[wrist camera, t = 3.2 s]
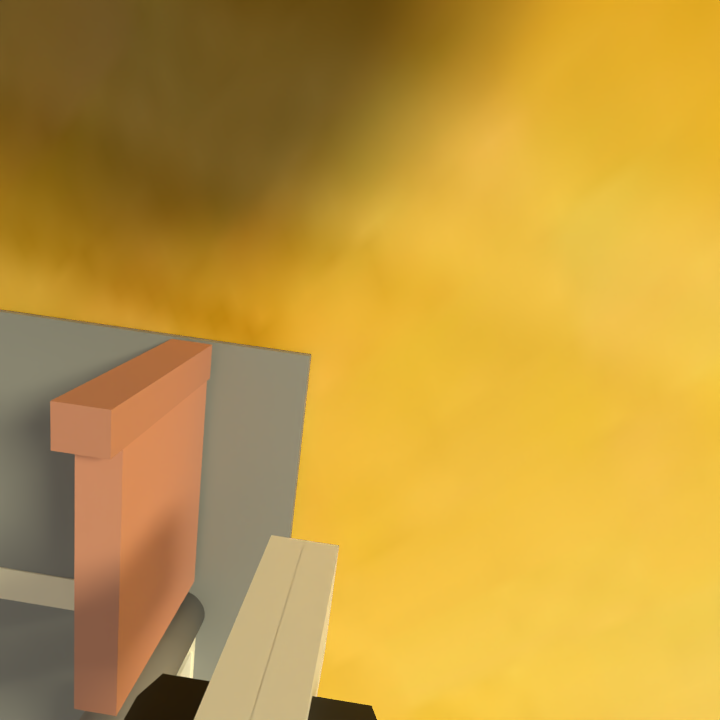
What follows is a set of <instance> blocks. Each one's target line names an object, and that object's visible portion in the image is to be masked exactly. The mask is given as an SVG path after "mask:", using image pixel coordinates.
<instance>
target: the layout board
mask: <svg viewBox="0 0 720 720" xmlns="http://www.w3.org/2000/svg"><path fill="white" fill-rule="evenodd" d="M170 339H177V340H184V341H191V342H198V343H205V344H212V356H211V371H210V379H209V380H207V389H206V405H205V420H204V436H203V452H202V468H201V483H200V499H199V515H198V531H197V547H196V562H195V578H194V583H193V585H192V586H191V588H190V590H189V591H188V592H189V593H191V594H193V595H194V596H195V597H197V598H198V599H199V601H200V602H201V604H202V605H203V608H204V612H205V617H204V621H203V623H202V625H201V627H200V629H199V631H198V633H197V635H196V637H195V639H194V641H193V643H192V645H191V647H190V649H189V651H192V656H191V672H190V678H194V679H200V680H206V681H210V680H211V678H212V675H213V673H214V670H215V668H216V666H217V663H218V661H219V658H220V656H221V654H222V651H223V649H224V647H225V644H226V642H227V639H228V637H229V635H230V632H231V630H232V628H233V625H234V623H235V620H236V618H237V616H238V613H239V611H240V608H241V606H242V604H243V601H244V599H245V597H246V594H247V592H248V589H249V587H250V585H251V582H252V580H253V578H254V575H255V573H256V570H257V568H258V566H259V563H260V561H261V558H262V556H263V554H264V551H265V549H266V547H267V544H268V542H269V539H270V537H271V535H274V536H280V537H287V538H291V533H292V524H293V515H294V506H295V497H296V488H297V479H298V470H299V461H300V451H301V442H302V433H303V424H304V415H305V406H306V397H307V388H308V379H309V370H310V361H311V354H306V353H299V352H292V351H285V350H278V349H271V348H264V347H257V346H250V345H243V344H236V343H229V342H222V341H215V340H208V339H201V338H194V337H187V336H180V335H173V334H166V333H159V332H152V331H145V330H138V329H132V328H125V327H118V326H111V325H104V324H97V323H90V322H83V321H76V320H69V319H62V318H55V317H48V316H41V315H34V314H27V313H20V312H13V311H6V310H0V720H79V719H80V718H81V716H82V714H83V713H84V710H78V709H74V557H75V454H70V453H64V452H57V451H51V427H50V401H51V400H53V399H55V398H57V397H59V396H61V395H63V394H65V393H67V392H69V391H71V390H73V389H74V388H76V387H78V386H80V385H82V384H84V383H86V382H88V381H90V380H92V379H94V378H96V377H98V376H100V375H102V374H104V373H106V372H108V371H110V370H112V369H114V368H116V367H118V366H120V365H121V364H123V363H125V362H127V361H129V360H131V359H133V358H135V357H137V356H139V355H141V354H143V353H145V352H147V351H149V350H151V349H153V348H155V347H157V346H159V345H161V344H163V343H165V342H166V341H168V340H170Z"/></svg>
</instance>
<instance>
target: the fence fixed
mask: <svg viewBox="0 0 720 720" xmlns="http://www.w3.org/2000/svg"><path fill="white" fill-rule="evenodd" d="M204 617H205V612H204V608H203V605H202V604H201V602H200V601H199V599H198V598H197V597H195V596H194V595H193V594H191V593H189V592H188V593H187V595H186V597H185V598H184V600H183V602H182V604H181V605H180V607H179V609H178V610H177V612H176V614H175V616H174V617H173V619H172V621H171V623H170V624H169V626H168V628H167V629H166V631H165V633H164V635H163V636H162V638H161V640H160V641H159V643H158V645H157V647H156V648H155V650H154V652H153V654H152V655H151V657H150V659H149V660H148V662H147V664H146V666H145V667H144V669H143V671H142V673H141V674H140V676H139V678H138V679H137V681H136V683H135V685H134V686H133V688H132V690H131V691H130V693H129V695H128V697H127V698H126V700H125V702H124V704H123V705H122V707H121V709H120V710H119V712H118V714H117V716H112V715H107V714H101V713H95V712H89V711H84V713H83V714H82V716H81V718H80V719H79V720H124V718H125V716H126V715H127V713H128V711H129V709H130V707H131V706H132V704H133V702H134V700H135V699H136V697H137V696H138V695H139V694H140V693H141V692H142V691H143V690H145V689H146V688H147V687H148V686H149V685H150V684H151V683H153V682H154V681H155V680H156V679H157V678H158V677H159V676H160V675H162V674H169V675H176V676H182V677H188V678H190V672H191V656H192V651H189V649H190V647H191V645H192V643H193V641H194V639H195V637H196V635H197V633H198V631H199V629H200V627H201V625H202V623H203V621H204Z"/></svg>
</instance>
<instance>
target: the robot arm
mask: <svg viewBox="0 0 720 720" xmlns="http://www.w3.org/2000/svg"><path fill="white" fill-rule="evenodd" d="M338 550H339V546H338V545H332V544H326V543H319V542H313V541H306V540H300V539H293V538H287V537H280V536H274V535H271V537H270V539H269V542H268V544H267V547H266V549H265V551H264V554H263V556H262V558H261V561H260V563H259V566H258V568H257V570H256V573H255V575H254V578H253V580H252V582H251V585H250V587H249V589H248V592H247V594H246V597H245V599H244V601H243V604H242V606H241V608H240V611H239V613H238V616H237V618H236V620H235V623H234V625H233V628H232V630H231V632H230V635H229V637H228V639H227V642H226V644H225V647H224V649H223V651H222V654H221V656H220V658H219V661H218V663H217V666H216V668H215V670H214V673H213V675H212V678H211V680H210V681H206V680H200V679H194V678H188V677H182V676H176V675H169V674H162V675H160V676H159V677H158V678H157V679H156V680H155V681H154V682H153V683H151V684H150V685H149V686H148V687H147V688H146V689H145V690H143V691H142V692H141V693H140V694H139V695H138V696H137V697H136V699H135V700H134V702H133V704H132V706H131V707H130V709H129V711H128V713H127V715H126V716H125V718H124V720H377V719H376V716H375V714H374V711H373V709H372V706H369V705H363V704H357V703H351V702H345V701H339V700H333V699H327V698H321V697H317V692H318V687H319V681H320V675H321V670H322V664H323V659H324V653H325V646H326V639H327V631H328V624H329V617H330V609H331V602H332V594H333V587H334V580H335V572H336V565H337V557H338Z"/></svg>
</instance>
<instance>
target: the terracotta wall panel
mask: <svg viewBox="0 0 720 720" xmlns="http://www.w3.org/2000/svg"><path fill="white" fill-rule="evenodd" d="M211 356H212V344H205V343H198V342H191V341H184V340H177V339H170V340H168V341H166V342H165V343H163V344H161V345H159V346H157V347H155V348H153V349H151V350H149V351H147V352H145V353H143V354H141V355H139V356H137V357H135V358H133V359H131V360H129V361H127V362H125V363H123V364H121V365H120V366H118V367H116V368H114V369H112V370H110V371H108V372H106V373H104V374H102V375H100V376H98V377H96V378H94V379H92V380H90V381H88V382H86V383H84V384H82V385H80V386H78V387H76V388H74V389H73V390H71V391H69V392H67V393H65V394H63V395H61V396H59V397H57V398H55V399H53V400H51V401H50V427H51V451H57V452H64V453H70V454H75V557H74V709H78V710H84V711H89V712H95V713H101V714H107V715H112V716H117V714H118V712H119V710H120V709H121V707H122V705H123V704H124V702H125V700H126V698H127V697H128V695H129V693H130V691H131V690H132V688H133V686H134V685H135V683H136V681H137V679H138V678H139V676H140V674H141V673H142V671H143V669H144V667H145V666H146V664H147V662H148V660H149V659H150V657H151V655H152V654H153V652H154V650H155V648H156V647H157V645H158V643H159V641H160V640H161V638H162V636H163V635H164V633H165V631H166V629H167V628H168V626H169V624H170V623H171V621H172V619H173V617H174V616H175V614H176V612H177V610H178V609H179V607H180V605H181V604H182V602H183V600H184V598H185V597H186V595H187V593H188V591H189V590H190V588H191V586H192V585H193V583H194V578H195V562H196V547H197V531H198V515H199V499H200V483H201V468H202V452H203V436H204V420H205V405H206V389H207V380H209V379H210V371H211Z"/></svg>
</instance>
